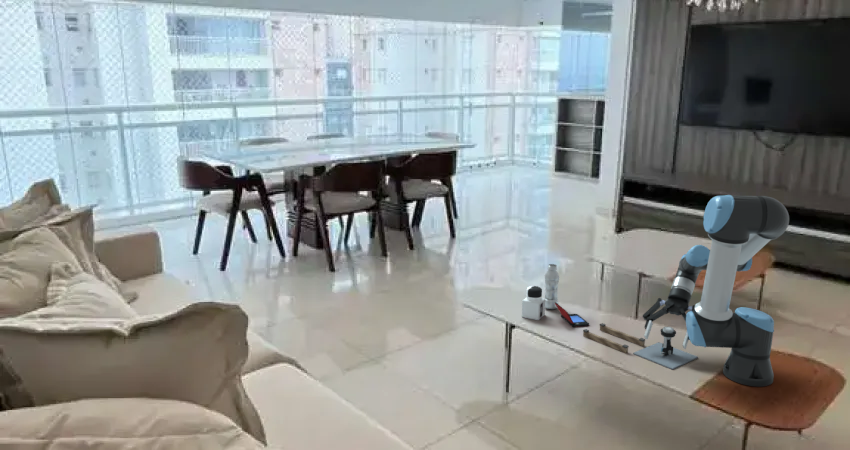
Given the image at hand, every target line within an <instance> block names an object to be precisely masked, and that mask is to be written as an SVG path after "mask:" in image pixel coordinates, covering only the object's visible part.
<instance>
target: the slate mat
mask: <svg viewBox="0 0 850 450" xmlns="http://www.w3.org/2000/svg"><path fill="white" fill-rule="evenodd" d="M663 343H664V342H660V341H659V342H656V343H654V344H650V345H648V346H647V347H643V348H641V349H639V350H637V351H635V352H633V353H632V354H633V355H634V356H637V357H640V358H642V359H645V360H648V361H650V362H651V363H654V364H657V365H659V366H662V367H665V368H667V369H669V370H675V369H677V368H679V367H682V366H684V365H686V364H688V363H690V362H692V361H694V360H697V359H698V358H699V356H698V355H695V354H692V353H690V352H687V351H683V350H681V349H679V348H676V347H673V353H672V354H671V355H667V356H660V355H661V353H660V352H661V348H663V347H662V345H663Z"/></svg>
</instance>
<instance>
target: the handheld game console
mask: <svg viewBox="0 0 850 450" xmlns="http://www.w3.org/2000/svg"><path fill="white" fill-rule="evenodd" d="M555 305H556V306H557V308H556V309H557V310H558V312H559V314H560V317H561V318H562V319H563V320H564V321H565V322H567V323H568V324H569V325H570V326H571V327H572V328H580V327H588V326H589V325H590V323H589V322H588V321H587V320H585V319H584V318H583V317H582V316H580V315H579V314H578V313H568V311H567V310H566V309H565V308H564V307H562V306H561V305H560V304H559V303H558V304H557V303H556V302H555Z"/></svg>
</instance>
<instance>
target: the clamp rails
mask: <svg viewBox="0 0 850 450" xmlns="http://www.w3.org/2000/svg"><path fill="white" fill-rule="evenodd" d="M606 325H607V324H605V323H603V322H602V323H599V330H600V331H602V332H604V333H607V334H609V335H612V336H615V337H617V338H620V339H623V340H625V341H627V342H630V343H633V344H636V345H638V346H640V347H644V346H645V341H646V339H645V338H643V337H640V338H638V337H636V336H633V335H631V334H628V333H625V332H623V331H620V330H618V329H614V328H612V327H609V326H606ZM582 330H583V331H582V335H583V337H585V338H587V339H590V340H592V341H594V342H597V343H600V344H602V345H604V346H607V347H609V348H612V349H614V350H617V351H620V352H621V353H624V354H627V353H629V345H628V344H621V343H618V342H615V341H613V340H610V339H608V338H605V337H603V336H601V335H598V334H595V333H593V332H590V330H589V329H587V328H585V329H582Z"/></svg>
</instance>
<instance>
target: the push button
mask: <svg viewBox="0 0 850 450" xmlns="http://www.w3.org/2000/svg"><path fill="white" fill-rule="evenodd" d="M659 332H660V335H661V336H662V337H663V342H662V343H663V345H662V347H663V348H661V352H660V353H661V355H660V356H667V355H671V354H672V353H673V348H674V346H673V345H672V338H675V336H676V334H677V331H676V330H675V329H674V328H673V327H672V326H663V328H661V329H660V330H659Z"/></svg>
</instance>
